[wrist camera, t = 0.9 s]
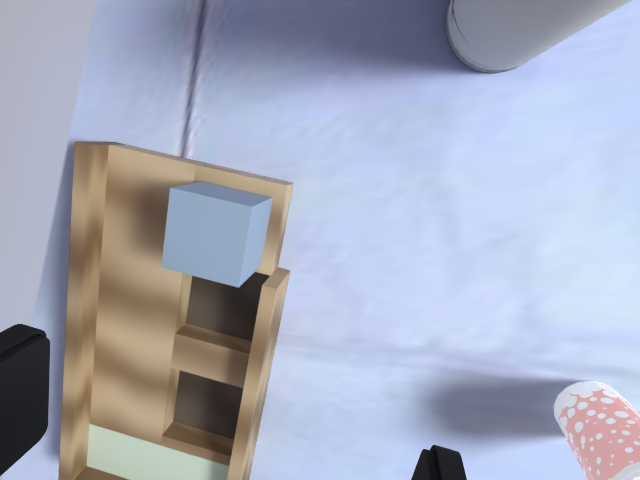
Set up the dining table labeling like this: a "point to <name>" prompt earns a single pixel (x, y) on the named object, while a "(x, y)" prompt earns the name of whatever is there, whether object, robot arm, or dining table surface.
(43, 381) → the robot arm
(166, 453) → the pad
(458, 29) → the travel mug
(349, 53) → the dining table surface
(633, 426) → the beverage cup
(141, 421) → the box
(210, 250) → the block
